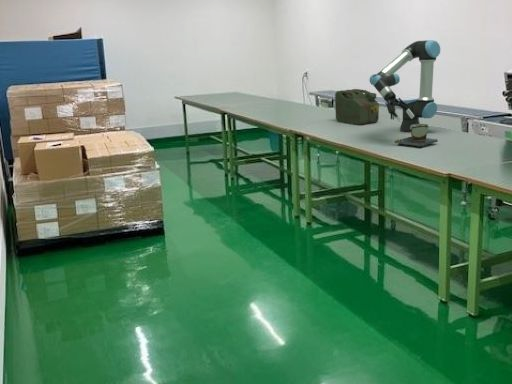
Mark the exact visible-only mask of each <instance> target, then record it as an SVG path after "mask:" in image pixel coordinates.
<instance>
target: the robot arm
mask: <svg viewBox="0 0 512 384" xmlns="http://www.w3.org/2000/svg"><path fill="white" fill-rule="evenodd" d="M440 54H441V46H440V43H438V41H436V40H433V39H428V40H417V41H414V42H412V43H411V44H409V45H407V46H406V47H405V48H404V49H402V50H401V53H400V54H399V55H398V56H397V57H395V58H394V59H392V61H390V62H389V63H388V64H387V65H386V66H385V67H384V68H382V69H381V70H380V71H379V72H377V73H375V74H374V73H373V74H372V75H370V77H369V79H368V81H369V83H370V84H371V85H372V86H373V87H374V88H375V90H377V92H378V93H379V94H380V96H381V98H383V100H384V101H385V102H384V104H385V105H386V108H387V111H388V114H390V115H391V116H392V115H393V117H394V118H395V119H396V120H397V122H401V124H400V127H399V131H400V132H404V133H411V129H410V126H411V125H413V124H421V123H420V118H421V119H432V118H433V117H434V116H435V115H436V114H437V111H438V105H437V103H436V102H435V98H434V97H433V86H434V85H433V82H434V81H433V80H434V65H435V64H434V63H435V62H436V61H437V57H439V56H440ZM414 59H418V61H419V62H420V74H419V75H420V78H419V96H418V98H416V99H415V98H413V99H408V100H407V99H406V100H402V98H400V97H398V98H397V95H396V93H395V92H394V91H393V90H392V88H391V87H392V86H395V85H398V84H399V83H400V80H401V79H400V76H399V74H398V73H396V72H398V71H399V70H400V69H401V68H402V67H403V66H404V65H406V64H407V63H408V62H411V61H413V60H414ZM395 107H399V108H400V109H402V117H401V116H400V115H399V113H398V112H397V111H395V110H396V108H395Z"/></svg>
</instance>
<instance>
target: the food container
mask: <svg viewBox="0 0 512 384" xmlns="http://www.w3.org/2000/svg"><path fill="white" fill-rule="evenodd" d="M410 129H411V132H410V133H411V134H410V135H411V136H410V137H412V141H421V140H426V138H428V137H427V135H428V129H429V124H428V123H420V124H413V125H411V126H410Z"/></svg>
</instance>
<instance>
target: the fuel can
mask: <svg viewBox="0 0 512 384" xmlns="http://www.w3.org/2000/svg"><path fill="white" fill-rule="evenodd" d="M376 99H377V93H376V92H375V93H374V92H371V91H368V90H367V89H360V88H359V89H358V88H352V89H345V90H337V91H336V92H335V94H334V100H335V121H336V122H338V123H340V124H341V123H343V124H349V125H353V126H354V125H355V126H361V125H369V124H374V122H375V123H377V122H378V121H379V118H380V117H379V115H380V114H379V113H380V112H379V109H380V107H379V106H380V104H379V102H378V101H377V100H376Z"/></svg>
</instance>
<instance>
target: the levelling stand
mask: <svg viewBox="0 0 512 384" xmlns="http://www.w3.org/2000/svg"><path fill="white" fill-rule="evenodd" d="M437 142H439V141H438V138H430V137H429V138H428V137H426V140H421V141H412V136H409V137H404V138H397V139H395V140H394V144H397V145H398V146H405V145H409V146H416V147H415V148H418V149H419V148H420V149H421V148H423V147H424V146H426V145H429V144H430V145H431V144H433V143H437Z"/></svg>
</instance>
